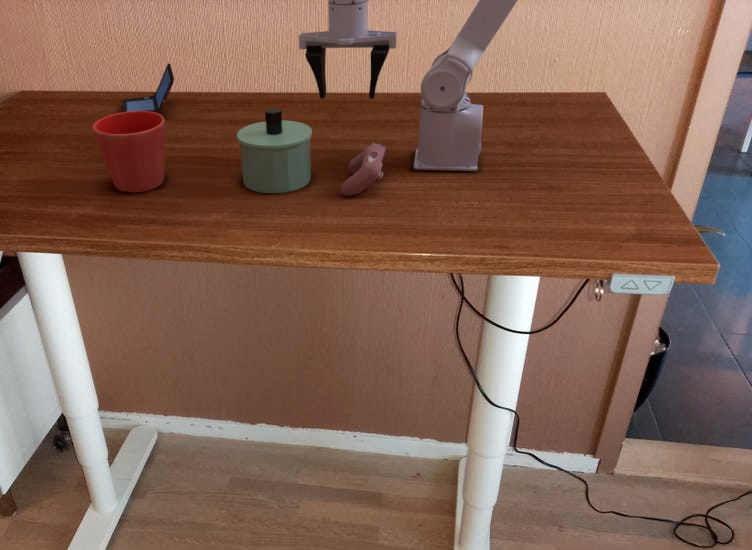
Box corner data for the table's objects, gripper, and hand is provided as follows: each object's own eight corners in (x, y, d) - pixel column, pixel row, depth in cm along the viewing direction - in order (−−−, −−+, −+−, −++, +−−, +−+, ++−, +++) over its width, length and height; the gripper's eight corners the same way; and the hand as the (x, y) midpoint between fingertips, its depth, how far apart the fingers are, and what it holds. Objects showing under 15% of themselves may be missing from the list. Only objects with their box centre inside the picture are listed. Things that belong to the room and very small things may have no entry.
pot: (304, 164, 116) (302, 121, 112) (316, 189, 107) (315, 143, 103) (240, 171, 115) (236, 128, 111) (247, 196, 106) (243, 151, 102)
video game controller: (365, 208, 104) (389, 167, 100) (337, 194, 104) (360, 152, 100) (371, 181, 112) (394, 142, 108) (345, 168, 112) (367, 128, 108)
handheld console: (122, 105, 148) (116, 67, 144) (174, 99, 149) (170, 61, 145) (123, 123, 138) (116, 83, 134) (179, 117, 139) (174, 77, 135)
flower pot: (117, 203, 107) (104, 139, 101) (96, 179, 115) (84, 119, 109) (183, 187, 111) (174, 124, 105) (158, 165, 119) (149, 105, 113)
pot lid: (305, 124, 112) (304, 96, 110) (318, 148, 103) (318, 118, 101) (233, 131, 111) (231, 103, 109) (241, 156, 102) (239, 126, 100)
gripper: (293, 7, 103) (297, 104, 111) (396, 5, 100) (392, 104, 108) (302, -2, 108) (304, 90, 116) (399, -4, 105) (395, 91, 113)
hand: (347, 96), depth 112 cm, fingers open, 7 cm apart
